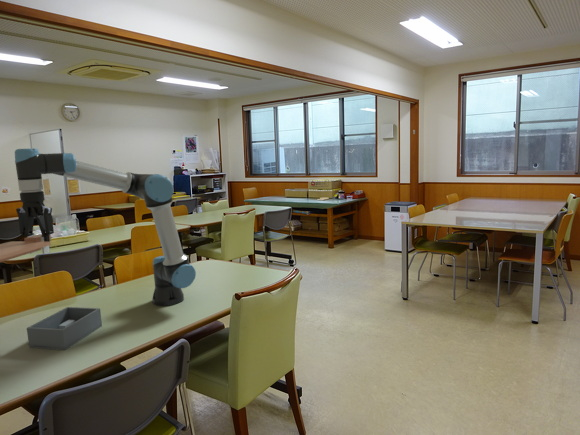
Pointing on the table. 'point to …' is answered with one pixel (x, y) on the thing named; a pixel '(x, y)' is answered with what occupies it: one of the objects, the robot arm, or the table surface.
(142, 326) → the table surface
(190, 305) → the table surface
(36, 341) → the tub
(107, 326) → the table surface
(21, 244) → the lid
